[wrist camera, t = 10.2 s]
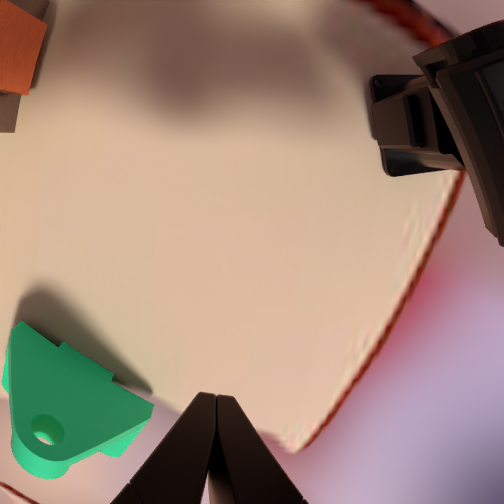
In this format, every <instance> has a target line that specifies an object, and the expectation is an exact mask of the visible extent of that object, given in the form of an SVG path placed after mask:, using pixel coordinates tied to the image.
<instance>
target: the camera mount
mask: <svg viewBox="0 0 504 504" xmlns="http://www.w3.org/2000/svg"><path fill="white" fill-rule="evenodd" d="M113 376H114V373H112V372H110V371H109V370H107V369H105V368H104V367H102V366H100V365H99V364H97V363H95V362H94V361H92V360H91V359H89V358H88V357H86V356H84V355H83V354H81V353H80V352H78V351H77V350H75V349H74V348H72V347H71V346H69V345H68V344H66V343H65V342H62V344H61V345H60V346H59V347H57V346H56V345H54V344H53V343H51V342H50V341H49V340H47V339H46V338H44V337H43V336H42V335H40V334H39V333H38V332H36V331H35V330H34V329H32V328H31V327H30V326H28V325H27V324H26V323H24V322H23V321H22V320H21V321H20V322H19V323H18V324H17V325H16V326H15V327H14V328H13V329H12V331H11V335H10V340H9V344H8V349H7V354H6V360H5V365H4V371H3V377H2V385H3V387H4V389H5V390H6V391H7V392H8V393H9V400H10V414H11V425H12V437H11V448H12V452H13V455H14V457H15V459H16V460H17V461H18V463H19V464H20V465H21V466H22V467H23V468H24V469H25V470H26V471H27V472H29V473H30V474H32V475H34V476H36V477H39V478H43V479H56V478H59V477H61V476H63V475H64V474H65V473H66V472H67V470H68V469H69V467H70V465H72V464H74V463H76V462H78V461H80V460H83V459H85V458H86V457H89V456H91V455H93V454H95V453H97V452H99V451H100V452H102V453H104V454H106V455H108V456H111V457H119V456H121V455H122V453H123V452H124V451H125V450H126V449H127V447H128V446H129V444H131V442H132V441H133V440H134V438H135V437H136V436H137V435H138V433H139V432H140V431H141V430H142V428H143V427H144V426H145V425H146V423H147V422H148V420H149V419H150V418H151V414H152V410H153V406H154V404H152V403H150V402H148V401H146V400H144V399H142V398H141V397H139V396H137V395H135V394H133V393H131V392H129V391H128V390H126V389H124V388H122V387H120V386H119V385H117V384H115V383H113V382H112V381H111V380H112V378H113ZM36 437H41V438H44V439H46V440H47V441H49V442H50V443H51V444H52V445H48V444H45V443H43V442H41V441H40V440H39V439H38V438H36Z"/></svg>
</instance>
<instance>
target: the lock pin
mask: <svg viewBox="0 0 504 504" xmlns="http://www.w3.org/2000/svg"><path fill="white" fill-rule="evenodd" d="M47 26H48V25H47V24H45V23H44V22H42V21H41V20H39V19H37V18H36V17H34V16H32V15H31V14H29V13H28V12H26V11H24V10H22V9H21V8H19V7H17V6H16V5H14V4H12V3H11V2H9V1H7V0H0V92H1V93H6V94H12V95H17V96H21V95H28V94H29V90H30V85H31V81H32V77H33V73H34V69H35V65H36V61H37V58H38V54H39V51H40V47H41V44H42V41H43V38H44V35H45V32H46V29H47Z"/></svg>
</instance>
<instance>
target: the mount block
mask: <svg viewBox="0 0 504 504" xmlns="http://www.w3.org/2000/svg"><path fill="white" fill-rule="evenodd" d="M7 1H9V2H11V3H12V4H14V5H16V6H17V7H19V8H21V9H22V10H24V11H26V12H28V13H29V14H31V15H32V16H34V17H36V18H37V19H39V20H41V21H42V19H43V16H44V13H45V11H46V8H47V6H48V3H49V1H48V0H7ZM20 97H21V96H17V95H12V94H6V93H1V92H0V133H14V131H15V124H16V118H17V112H18V107H19V102H20Z"/></svg>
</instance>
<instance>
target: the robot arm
mask: <svg viewBox="0 0 504 504" xmlns="http://www.w3.org/2000/svg"><path fill="white" fill-rule="evenodd" d="M412 58H413V60H414V61H415V63H416V64H417V66H418V67H419V66H420V68H421V69H422V71H423V73H424V75H374V76H372V77H371V78H370V80H369V85H370V90H371V95H372V99H373V105H372V113H373V118H374V123H375V129H376V135H377V141H378V145H379V146H380V147H381V150H382V157H383V164H384V170H385V173H386V174H387V175H388V176H392V177H397V176H404V175H411V174H418V173H426V172H434V171H441V170H449V169H450V170H458V171H465V172H468V175H469V178H470V180H471V183H472V186H473V189H474V192H475V194H476V197H477V200H478V203H479V207H480V210H481V213H482V216H483V220H484V223H485V227H486V228H487V229H488V230H489V231H490V232H491V233H492V234H493V235H494V236H495V237H496V238H498V242H499V245H500V246H503V247H504V19H503V20H499V21H496V22H493V23H490V24H487V25H484V26H482V27H479V28H477V29H474V30H471V31H469V32H466V33H464V34H462V35H459V36H457V37H455V38H452V39H450V40H448V41H446V42H443V43H441V44H439V45H437V46H435V47H433V48H430V49H428V50H426V51H424V52H422V53H420V54H418V55H416V56H414V57H412ZM375 80H378V81H379V83H380V86H377V85H376V83H375ZM392 165H393V166H394V171H393V172H391V170H390V168H391V166H392ZM207 474H208V489H209V500H210V504H309V503H308V502H307V501H306V500H305V499H303V496H302V495H301V493H300V492H299V490H298V489H297V488H296V486H295V485H294V484H293V482H292V481H291V480H290V478H289V477H288V476H287V474H286V473H285V472H284V470H283V469H282V467H281V466H280V464H279V463H278V462H277V461H276V459H275V457H274V456H273V455H272V453H271V452H270V450H269V449H268V447H267V446H266V444H265V443H264V441H263V440H262V439H261V437H260V436H259V434H258V433H257V431H256V430H255V428H254V427H253V425H252V424H251V422H250V421H249V419H248V418H247V416H246V414H245V413H244V411H243V410H242V408H241V407H240V405H239V404H238V402H237V400H236V399H235V398H234V397H233V396H228V395H220V394H219V395H217V396H216V395H215V394H213V393H206V392H199V393H198V394H197V395H196V396H195V398H194V399H193V400H192V402H191V403H190V404H189V406H188V407H187V408H186V410H185V411H184V412H183V414H182V415H181V416H180V417H179V419H178V420H177V421H176V423H175V424H174V425H173V427H172V428H171V429H170V430H169V432H168V433H167V434H166V436H165V437H164V438H163V439H162V441H161V442H160V444H159V445H158V446H157V447H156V448H155V450H154V451H153V452H152V454H151V455H150V456H149V457H148V459H147V460H146V461H145V462H144V464H143V465H142V466H141V467H140V469H139V470H138V471H137V472H136V474H135V475H134V476H133V477H132V479H131V480H130V483H127V484H126V486H125V487H124V488H123V489H122V491H121V492H120V493H119V494H118V495H117V497H116V498H115V499H114V500H113V501H112V502H111V503H110V504H201V500H202V496H203V492H204V488H205V483H206V478H207ZM302 499H303V500H302Z"/></svg>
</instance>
